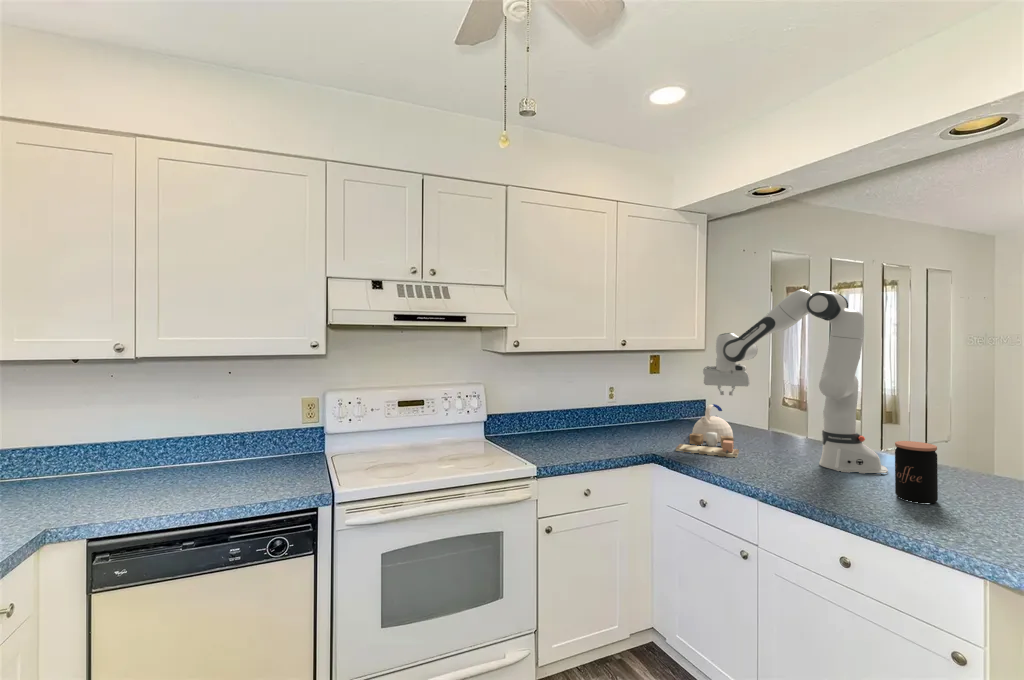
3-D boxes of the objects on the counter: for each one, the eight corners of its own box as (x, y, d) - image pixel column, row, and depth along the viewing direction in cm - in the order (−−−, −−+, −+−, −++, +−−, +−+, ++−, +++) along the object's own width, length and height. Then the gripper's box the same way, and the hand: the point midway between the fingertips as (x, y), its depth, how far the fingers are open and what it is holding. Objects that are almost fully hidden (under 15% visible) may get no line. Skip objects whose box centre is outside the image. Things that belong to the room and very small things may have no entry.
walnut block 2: (731, 446, 235) (731, 436, 235) (733, 448, 230) (733, 438, 230) (720, 445, 236) (720, 435, 236) (722, 448, 231) (722, 437, 231)
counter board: (738, 452, 221) (738, 449, 221) (736, 457, 213) (736, 454, 213) (680, 447, 234) (679, 443, 234) (675, 451, 226) (675, 448, 226)
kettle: (684, 438, 254) (683, 404, 254) (703, 432, 268) (702, 400, 267) (722, 444, 239) (721, 408, 238) (740, 438, 252) (740, 403, 252)
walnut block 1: (703, 444, 240) (703, 434, 240) (699, 446, 237) (699, 435, 236) (693, 442, 244) (693, 433, 244) (689, 444, 240) (689, 434, 240)
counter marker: (733, 449, 220) (733, 440, 220) (731, 453, 214) (731, 444, 214) (723, 448, 222) (723, 440, 222) (722, 452, 216) (721, 443, 216)
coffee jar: (886, 494, 162) (886, 441, 162) (916, 493, 163) (916, 440, 163) (915, 506, 151) (915, 448, 151) (947, 504, 152) (946, 447, 152)
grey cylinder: (718, 444, 238) (717, 432, 238) (716, 446, 234) (716, 434, 234) (707, 443, 241) (707, 431, 241) (705, 445, 236) (705, 433, 236)
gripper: (702, 366, 235) (702, 394, 235) (748, 367, 225) (749, 396, 225) (704, 365, 241) (704, 393, 241) (749, 366, 230) (750, 395, 230)
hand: (726, 395), depth 233 cm, fingers open, 3 cm apart
